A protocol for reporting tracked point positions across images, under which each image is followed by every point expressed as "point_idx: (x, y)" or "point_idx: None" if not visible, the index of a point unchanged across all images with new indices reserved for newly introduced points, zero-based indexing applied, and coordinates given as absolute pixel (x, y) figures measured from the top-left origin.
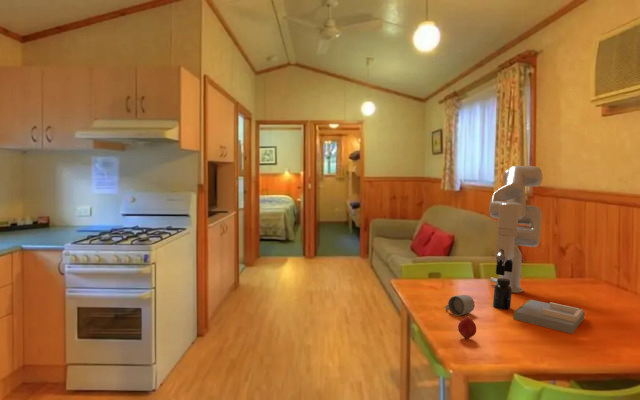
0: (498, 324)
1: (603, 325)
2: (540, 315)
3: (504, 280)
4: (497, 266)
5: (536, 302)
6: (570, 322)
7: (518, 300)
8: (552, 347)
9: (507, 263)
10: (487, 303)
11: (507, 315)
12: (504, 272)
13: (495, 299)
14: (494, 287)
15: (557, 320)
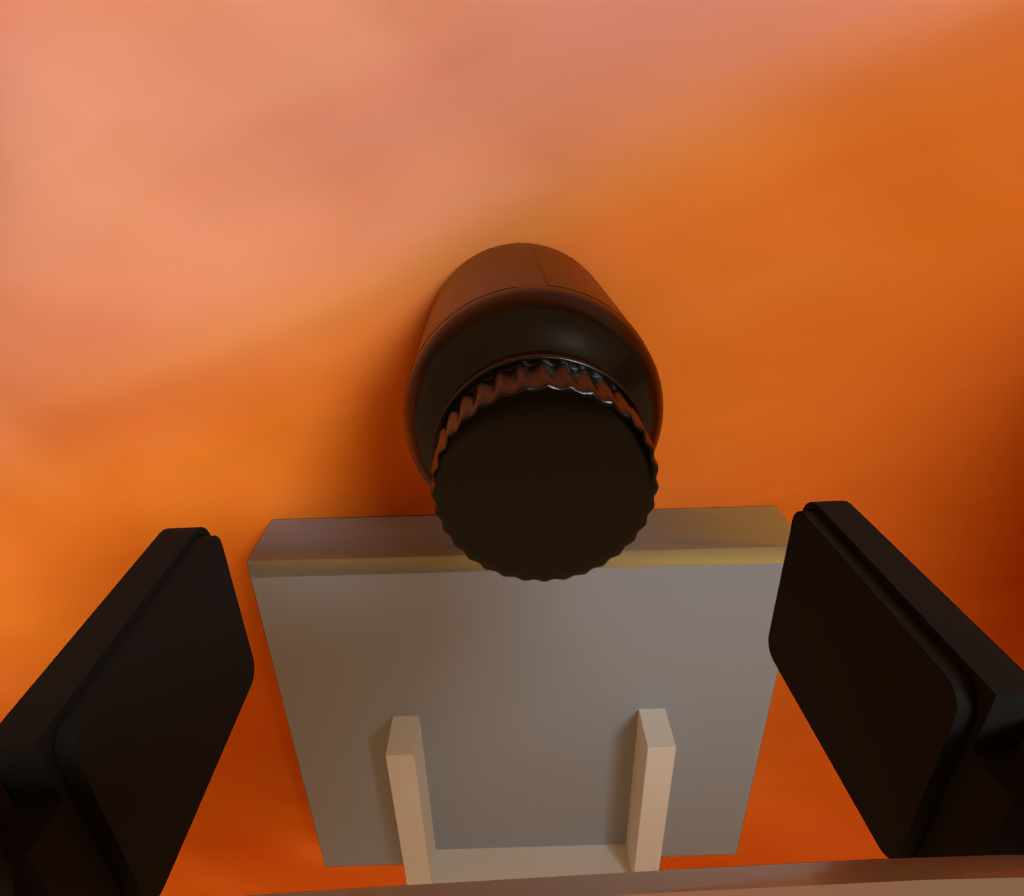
0: (9, 485)
1: None
2: (350, 716)
3: (467, 528)
4: (49, 715)
5: (726, 610)
6: (380, 850)
7: (921, 373)
8: None
9: (910, 745)
10: (535, 154)
11: (315, 458)
12: (220, 733)
13: (433, 310)
14: (469, 304)
15: (344, 802)
